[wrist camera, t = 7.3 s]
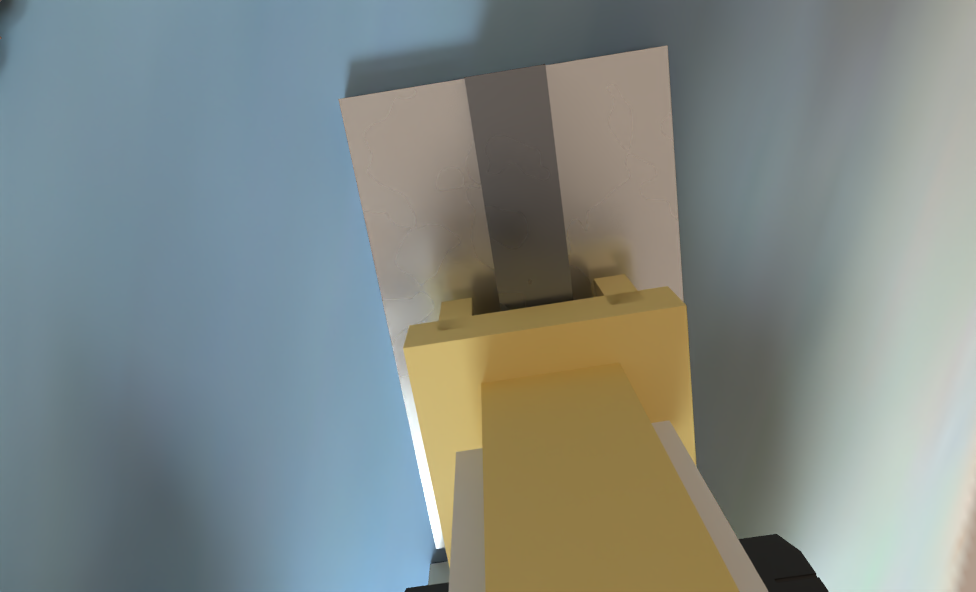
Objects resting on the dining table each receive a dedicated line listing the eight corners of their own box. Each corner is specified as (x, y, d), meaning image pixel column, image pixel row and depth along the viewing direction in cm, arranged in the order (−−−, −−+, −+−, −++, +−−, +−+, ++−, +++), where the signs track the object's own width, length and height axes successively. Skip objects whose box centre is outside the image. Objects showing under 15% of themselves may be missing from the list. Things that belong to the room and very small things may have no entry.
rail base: (437, 533, 23) (432, 587, 20) (344, 98, 18) (323, 100, 16) (689, 497, 23) (715, 547, 20) (659, 47, 18) (689, 40, 16)
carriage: (454, 505, 21) (434, 937, 10) (414, 305, 19) (335, 590, 8) (667, 475, 21) (871, 882, 10) (651, 269, 19) (888, 512, 8)
